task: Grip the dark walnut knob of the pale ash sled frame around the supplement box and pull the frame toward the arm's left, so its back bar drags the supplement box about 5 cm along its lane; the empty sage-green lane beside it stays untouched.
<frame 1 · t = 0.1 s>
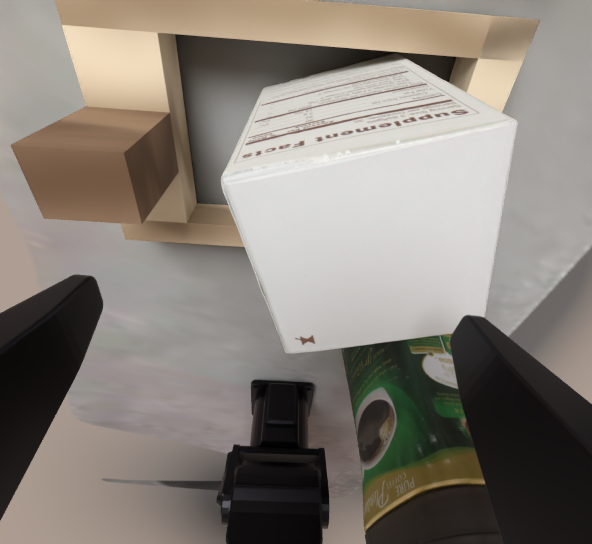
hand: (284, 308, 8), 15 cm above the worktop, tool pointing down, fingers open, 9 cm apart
supplement box: (337, 135, 20), resting in ash sled frame
ash sled frame: (290, 162, 17), point 4 cm above the worktop, slide at 0.0 cm
coffee jar: (391, 308, 29), on the worktop
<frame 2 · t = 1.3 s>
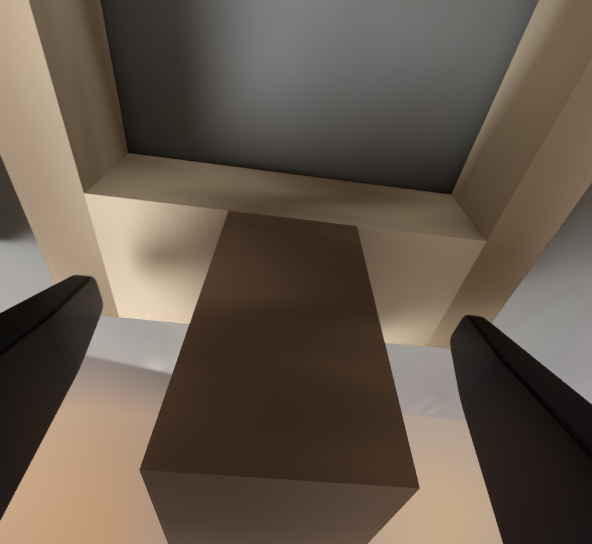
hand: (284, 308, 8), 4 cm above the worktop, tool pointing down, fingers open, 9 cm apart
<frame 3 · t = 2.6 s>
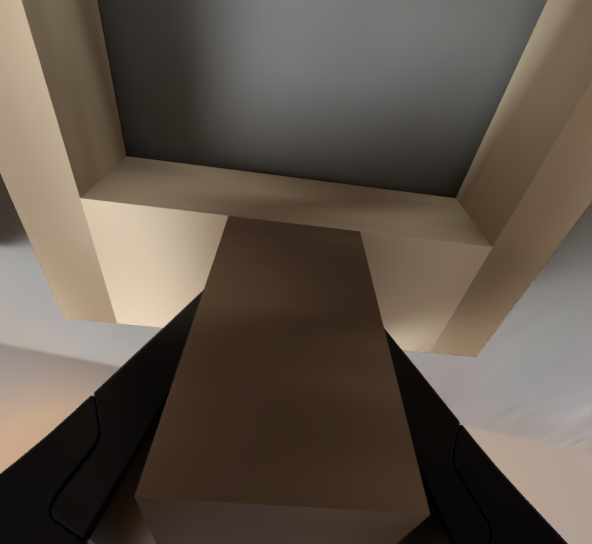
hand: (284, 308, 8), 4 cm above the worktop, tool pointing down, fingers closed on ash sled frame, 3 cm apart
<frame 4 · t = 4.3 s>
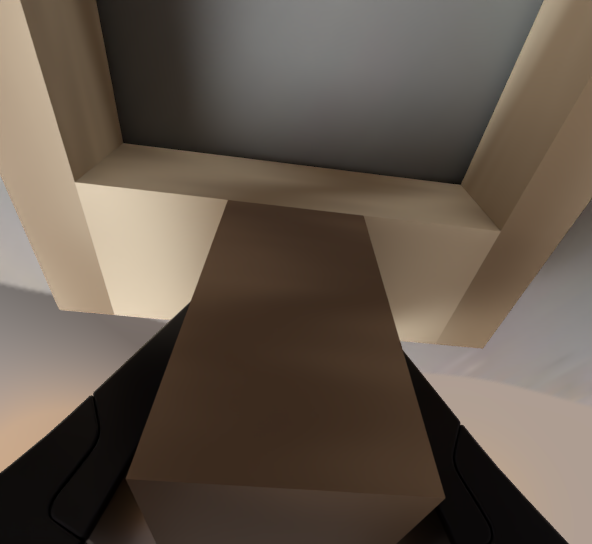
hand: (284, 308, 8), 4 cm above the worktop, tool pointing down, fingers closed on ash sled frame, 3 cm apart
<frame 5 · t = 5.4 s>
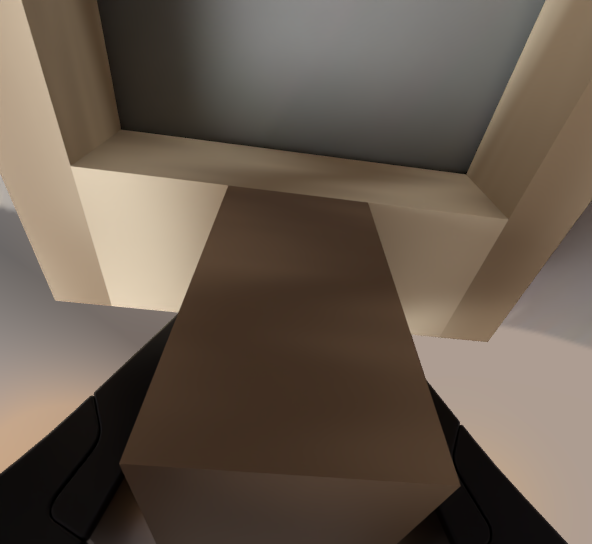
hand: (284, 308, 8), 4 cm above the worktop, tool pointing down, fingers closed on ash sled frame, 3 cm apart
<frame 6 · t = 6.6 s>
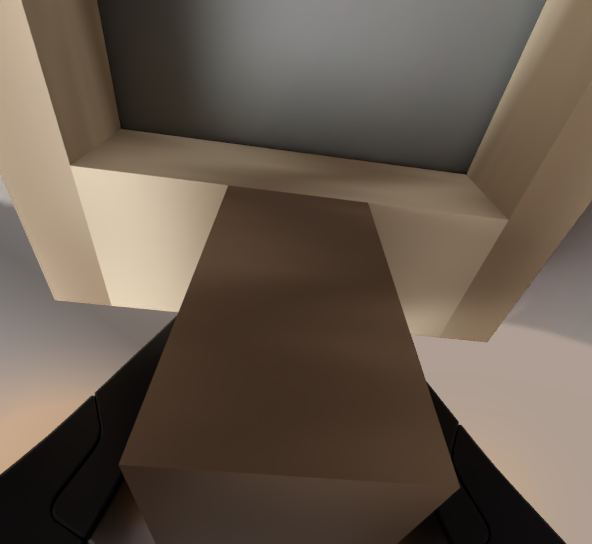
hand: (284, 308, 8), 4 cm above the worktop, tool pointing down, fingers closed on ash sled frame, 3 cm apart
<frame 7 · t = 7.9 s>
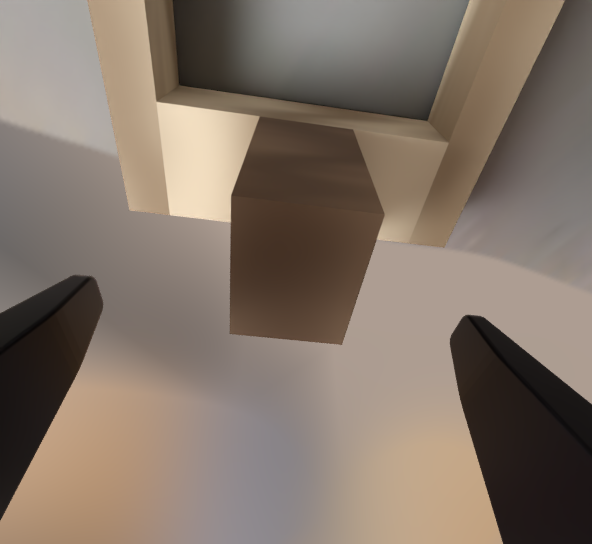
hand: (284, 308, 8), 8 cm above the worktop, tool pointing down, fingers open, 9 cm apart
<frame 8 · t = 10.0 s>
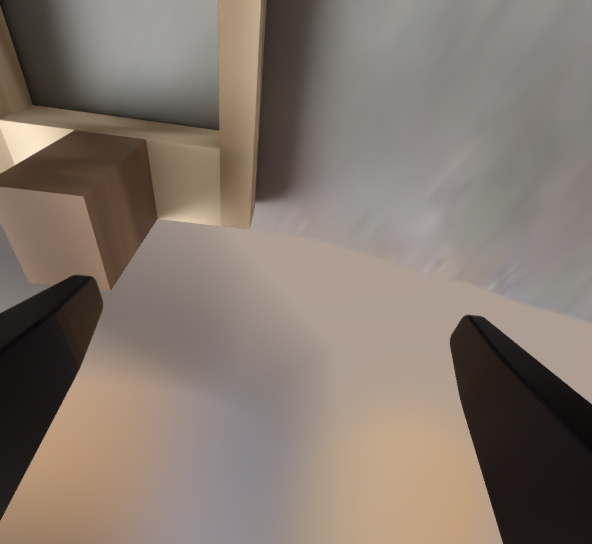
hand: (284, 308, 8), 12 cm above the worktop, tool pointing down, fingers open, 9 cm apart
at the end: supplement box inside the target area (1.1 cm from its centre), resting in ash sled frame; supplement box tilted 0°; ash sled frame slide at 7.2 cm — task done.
